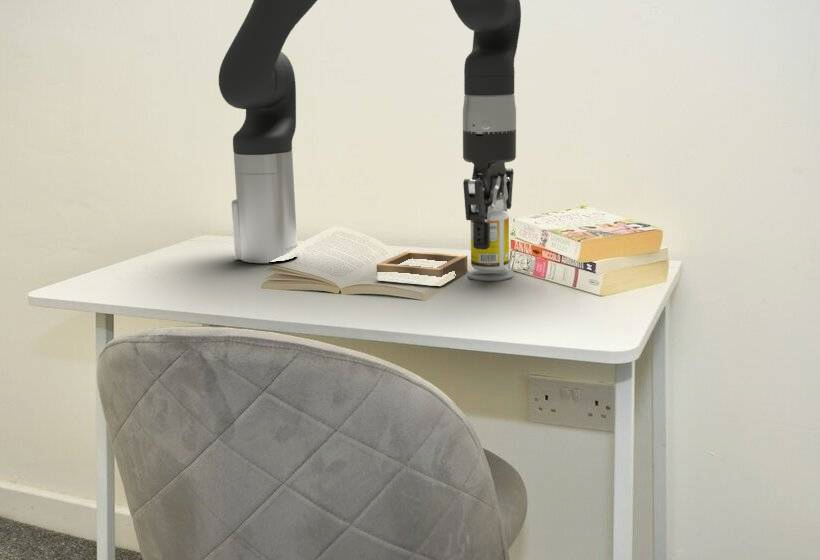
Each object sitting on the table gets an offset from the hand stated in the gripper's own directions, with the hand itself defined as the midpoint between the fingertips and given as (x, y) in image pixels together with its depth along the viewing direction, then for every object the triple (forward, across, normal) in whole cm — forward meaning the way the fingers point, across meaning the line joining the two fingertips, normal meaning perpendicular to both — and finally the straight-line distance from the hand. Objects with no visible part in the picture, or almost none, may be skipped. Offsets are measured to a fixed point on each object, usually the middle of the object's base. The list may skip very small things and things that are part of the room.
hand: (489, 244), depth 139 cm
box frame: (+5, +4, -9) cm, 11 cm away
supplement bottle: (+4, 0, 0) cm, 4 cm away
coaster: (+5, 0, 0) cm, 5 cm away
